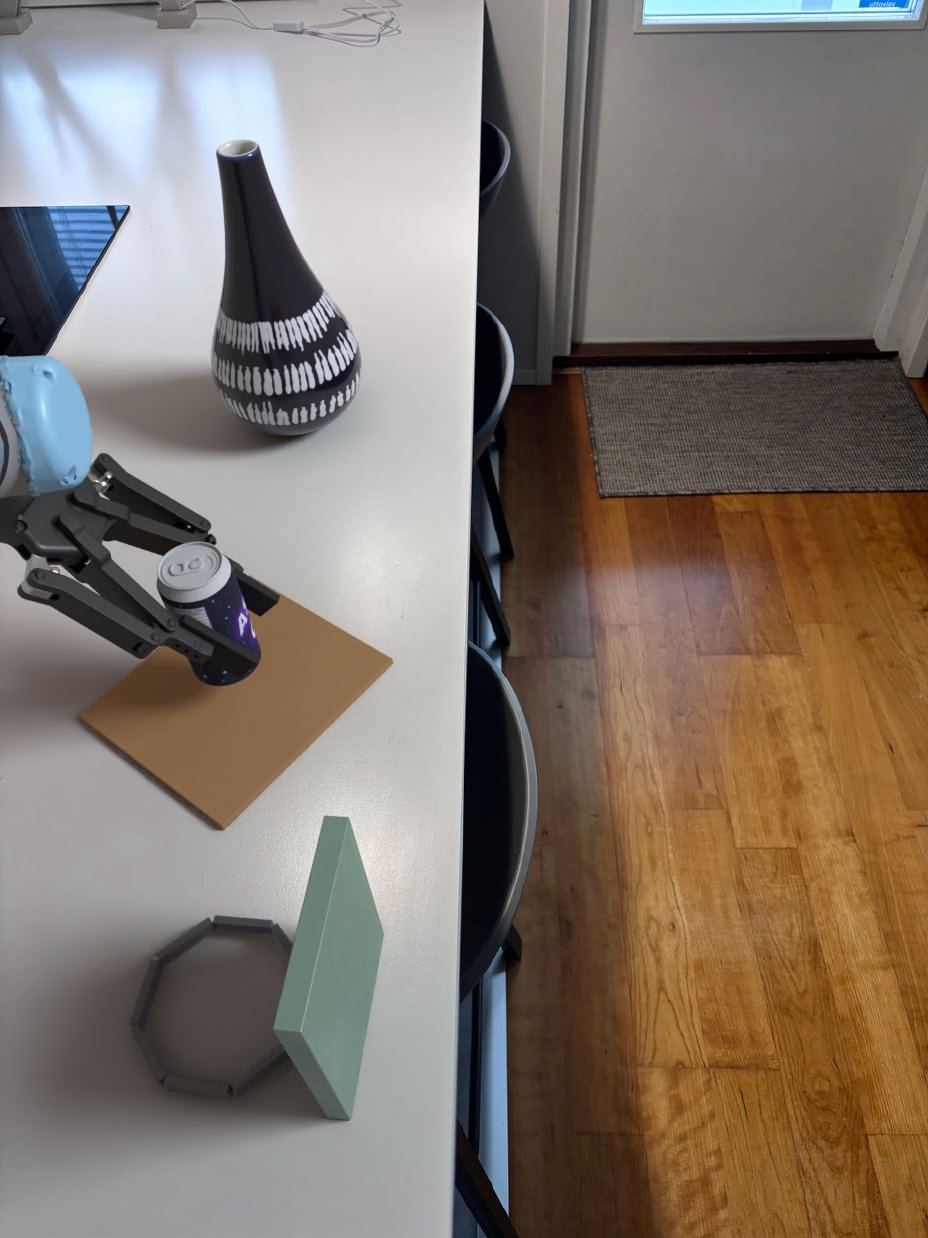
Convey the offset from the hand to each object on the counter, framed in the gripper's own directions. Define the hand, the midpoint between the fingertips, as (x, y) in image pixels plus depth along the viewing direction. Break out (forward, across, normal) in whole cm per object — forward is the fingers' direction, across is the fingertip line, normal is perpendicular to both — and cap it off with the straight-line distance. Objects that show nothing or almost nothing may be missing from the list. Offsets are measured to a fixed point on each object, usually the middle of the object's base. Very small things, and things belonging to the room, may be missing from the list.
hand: (259, 635), depth 75 cm
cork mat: (+3, 0, -8) cm, 8 cm away
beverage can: (+1, 0, -6) cm, 6 cm away
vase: (0, -38, -11) cm, 40 cm away
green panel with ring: (+9, +26, -2) cm, 28 cm away
